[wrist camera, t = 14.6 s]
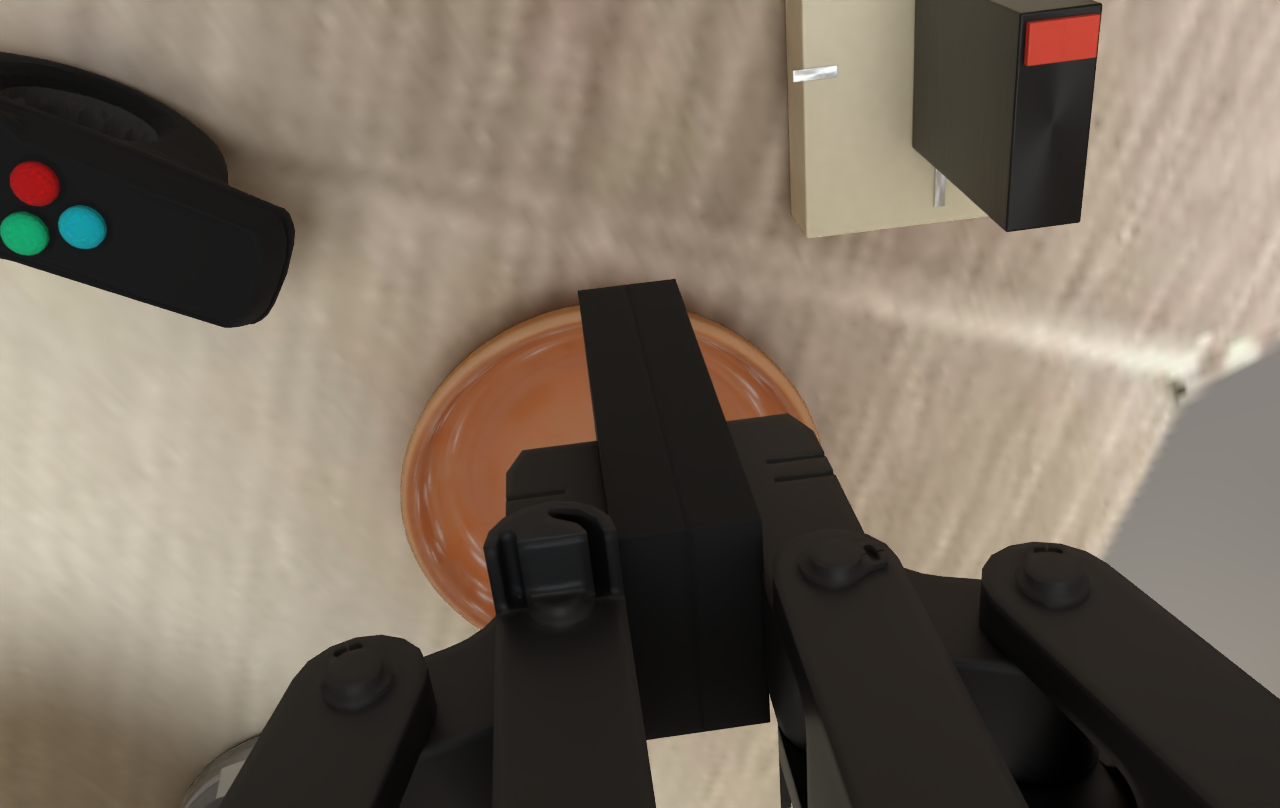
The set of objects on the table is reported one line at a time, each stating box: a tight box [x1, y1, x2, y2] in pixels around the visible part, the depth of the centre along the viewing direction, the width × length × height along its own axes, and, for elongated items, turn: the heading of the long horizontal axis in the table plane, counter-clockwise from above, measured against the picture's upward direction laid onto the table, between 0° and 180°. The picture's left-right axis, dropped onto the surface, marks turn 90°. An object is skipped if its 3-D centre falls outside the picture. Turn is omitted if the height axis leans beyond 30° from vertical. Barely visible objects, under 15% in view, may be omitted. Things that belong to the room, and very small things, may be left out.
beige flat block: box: [785, 0, 989, 239], centre depth 35 cm, size 11×10×3 cm
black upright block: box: [912, 0, 1102, 232], centre depth 30 cm, size 6×2×8 cm, turn 6°
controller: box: [0, 52, 295, 328], centre depth 31 cm, size 4×12×10 cm, turn 66°
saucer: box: [401, 305, 821, 629], centre depth 42 cm, size 16×16×3 cm
